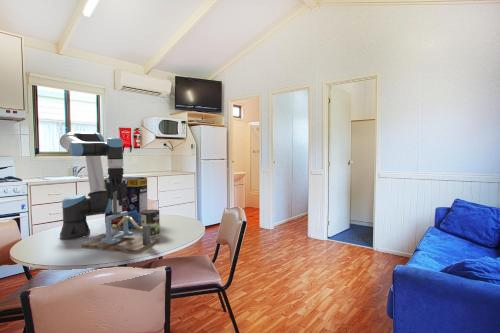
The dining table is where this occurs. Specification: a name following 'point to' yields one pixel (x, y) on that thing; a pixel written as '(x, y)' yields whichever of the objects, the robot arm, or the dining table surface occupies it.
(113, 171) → the robot arm
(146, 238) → the buzz wire
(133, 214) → the blue rounded piece
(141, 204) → the cereal box
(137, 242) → the board
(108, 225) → the grey frame
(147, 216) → the coffee can
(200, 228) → the dining table surface
